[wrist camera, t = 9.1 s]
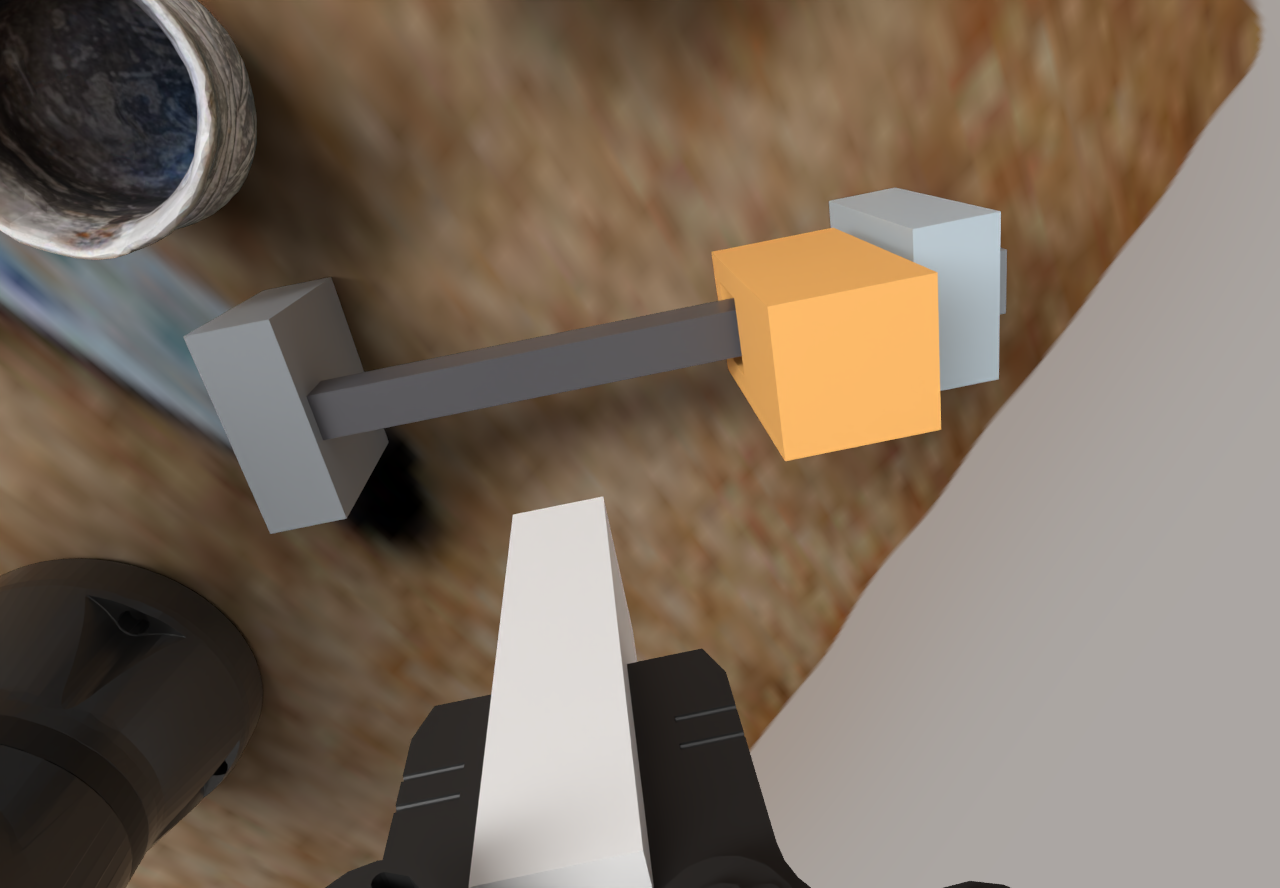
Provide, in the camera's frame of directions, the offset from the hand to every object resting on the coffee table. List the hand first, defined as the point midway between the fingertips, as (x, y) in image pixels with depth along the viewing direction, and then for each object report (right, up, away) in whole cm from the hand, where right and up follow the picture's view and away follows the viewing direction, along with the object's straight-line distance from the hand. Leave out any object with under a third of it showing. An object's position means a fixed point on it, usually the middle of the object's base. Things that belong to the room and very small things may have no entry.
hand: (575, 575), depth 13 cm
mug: (-19, +17, +17) cm, 30 cm away
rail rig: (-1, +8, +22) cm, 23 cm away
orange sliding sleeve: (+7, +8, +19) cm, 22 cm away
